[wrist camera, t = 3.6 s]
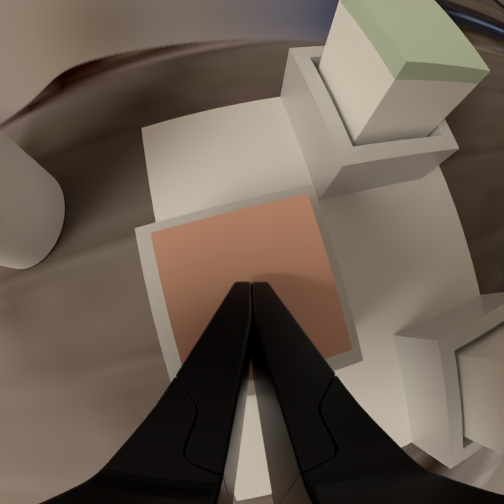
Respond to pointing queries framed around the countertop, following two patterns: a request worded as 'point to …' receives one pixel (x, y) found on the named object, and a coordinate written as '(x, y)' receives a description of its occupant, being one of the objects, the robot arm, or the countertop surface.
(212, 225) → the key terracotta
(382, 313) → the keypad
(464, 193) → the countertop surface
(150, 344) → the countertop surface
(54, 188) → the mug
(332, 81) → the key sage
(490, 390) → the key slate
